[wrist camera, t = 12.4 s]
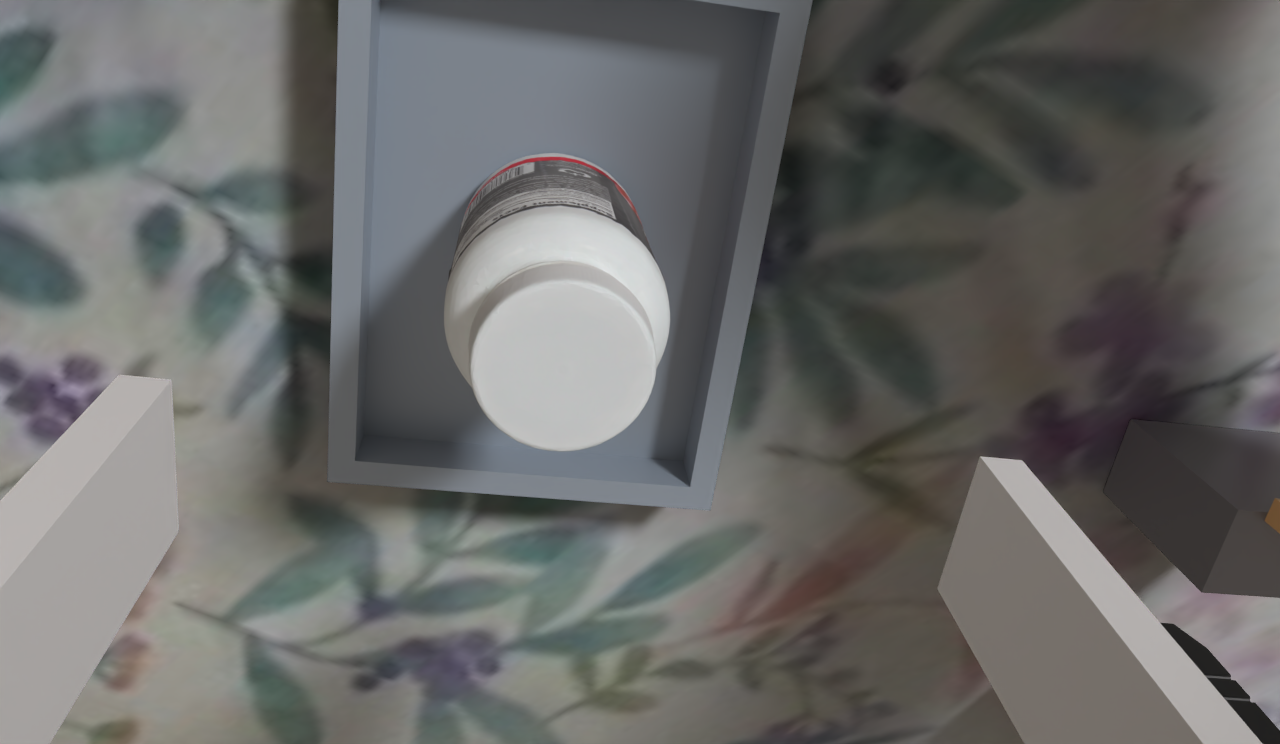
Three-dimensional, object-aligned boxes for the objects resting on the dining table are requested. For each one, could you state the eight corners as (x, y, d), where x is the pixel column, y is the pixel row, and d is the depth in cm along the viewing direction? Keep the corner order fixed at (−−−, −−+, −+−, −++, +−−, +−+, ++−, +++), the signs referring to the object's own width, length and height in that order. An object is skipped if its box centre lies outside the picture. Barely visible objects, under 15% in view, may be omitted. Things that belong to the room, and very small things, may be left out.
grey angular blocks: (1135, 406, 35) (1271, 517, 29) (1288, 421, 36) (1453, 532, 30) (1018, 714, 41) (1110, 866, 34) (1153, 720, 42) (1267, 870, 35)
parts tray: (357, -88, 27) (340, -88, 24) (793, -21, 28) (815, -15, 26) (341, 443, 33) (327, 481, 31) (698, 471, 35) (710, 510, 32)
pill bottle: (645, 316, 31) (692, 471, 22) (472, 330, 31) (448, 494, 22) (637, 141, 29) (685, 237, 20) (449, 154, 29) (414, 257, 20)
